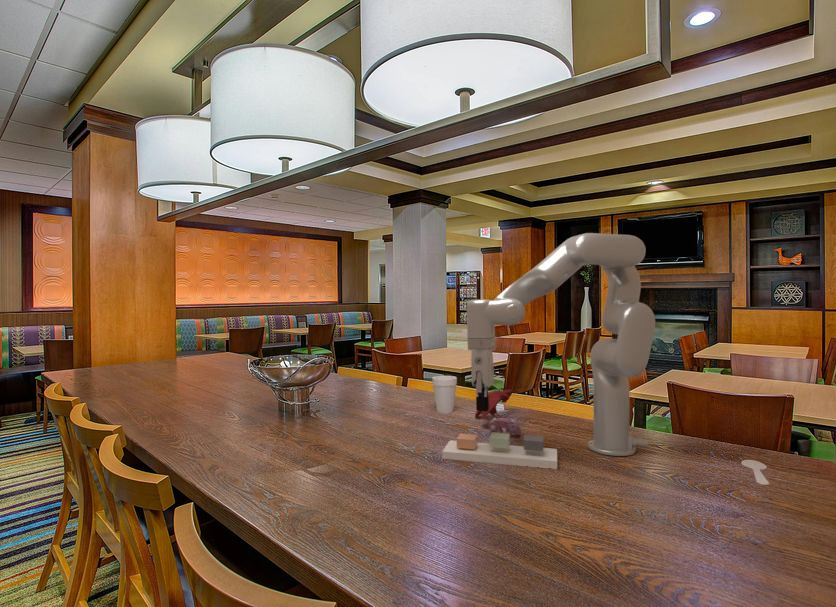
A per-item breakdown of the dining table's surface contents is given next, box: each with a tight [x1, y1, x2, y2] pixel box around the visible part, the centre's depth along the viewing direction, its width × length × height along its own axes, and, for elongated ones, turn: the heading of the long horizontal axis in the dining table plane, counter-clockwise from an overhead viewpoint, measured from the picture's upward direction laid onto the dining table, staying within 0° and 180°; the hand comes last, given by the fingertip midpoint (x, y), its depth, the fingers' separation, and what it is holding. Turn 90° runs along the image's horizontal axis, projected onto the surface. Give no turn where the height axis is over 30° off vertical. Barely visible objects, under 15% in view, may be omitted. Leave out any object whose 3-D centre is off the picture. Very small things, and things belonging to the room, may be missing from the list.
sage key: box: [488, 431, 511, 448], centre depth 126 cm, size 5×5×2 cm
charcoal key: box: [523, 434, 545, 451], centre depth 124 cm, size 5×5×2 cm
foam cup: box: [432, 375, 458, 414], centre depth 178 cm, size 10×9×13 cm
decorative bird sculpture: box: [474, 389, 514, 421], centre depth 166 cm, size 28×9×15 cm
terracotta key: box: [456, 433, 479, 449], centre depth 129 cm, size 5×5×2 cm
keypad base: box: [441, 439, 558, 470], centre depth 126 cm, size 30×10×2 cm, turn 74°
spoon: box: [740, 459, 770, 486], centre depth 115 cm, size 5×18×1 cm, turn 152°
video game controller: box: [487, 417, 522, 437], centre depth 147 cm, size 10×5×7 cm, turn 62°
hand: (482, 410), depth 128 cm, fingers closed
